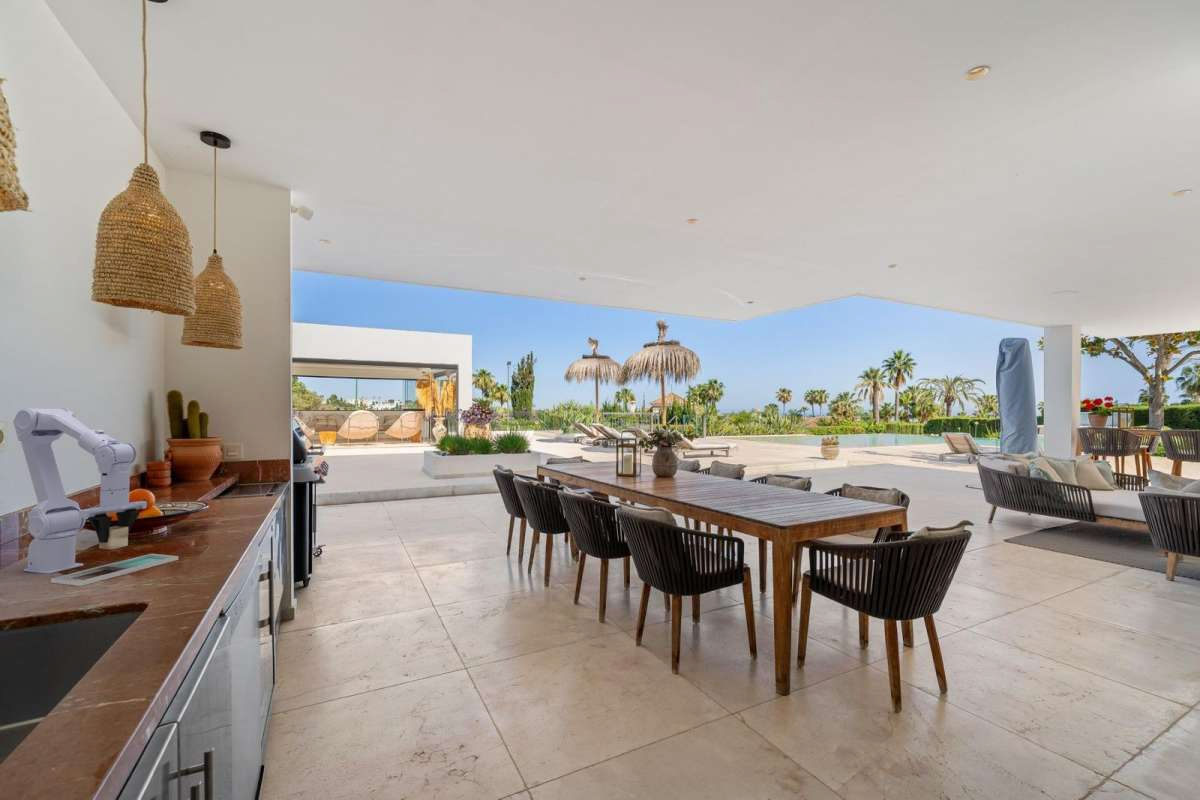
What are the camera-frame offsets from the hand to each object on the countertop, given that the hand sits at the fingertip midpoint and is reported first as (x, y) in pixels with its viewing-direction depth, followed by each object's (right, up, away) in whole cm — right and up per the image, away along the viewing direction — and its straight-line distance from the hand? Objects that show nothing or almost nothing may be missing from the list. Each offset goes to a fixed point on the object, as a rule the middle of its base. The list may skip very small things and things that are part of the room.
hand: (113, 540), depth 139 cm
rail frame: (0, -8, +1) cm, 9 cm away
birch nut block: (0, -2, 0) cm, 2 cm away
